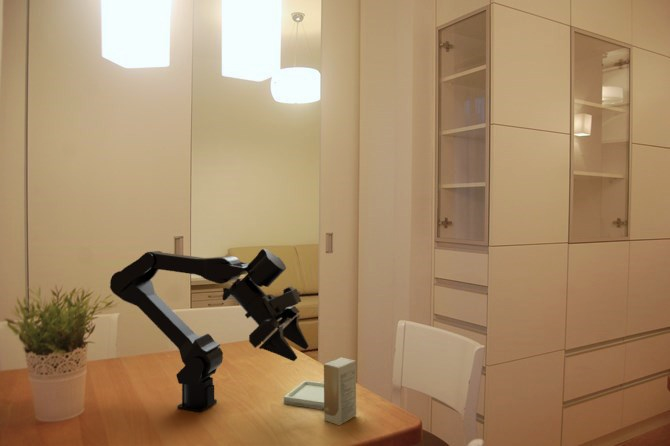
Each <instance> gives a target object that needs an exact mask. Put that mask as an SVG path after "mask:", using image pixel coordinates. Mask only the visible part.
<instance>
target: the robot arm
mask: <svg viewBox="0 0 670 446" xmlns="http://www.w3.org/2000/svg"><path fill="white" fill-rule="evenodd" d="M159 270H160V271H169V272H175V273H184V274H189V275H196V276H199V277H201V278H203V279H204V280H207V281H210V282H213V283H215V284H220V285H222V284H226V283H230V282H233V281H234V282H233V283H232V284H231V285H230V286H227V287H226V286H225V287H224V288H223V289H222V301H227V300H229V299H232V298H234V300H235V302H237V304H239V305H240V307H242V309H243V310H244V311H245V312H246V313H245V314H244V317H246V318H247V319H249V318H251V319H252V320H253V321H254V322H255V323H256V324H257V327H256V328H255V329H254V330H253V331H252V332H251V333H250V334H249V338H248V342H249V343H250V344H251V346H253V348H254V349H256V348H259V349H260V350H265V351H267V352H270V353H273V354H275V355H278V356H280V357H282V358H285V359H287V360H289V361H292V362H295V361H296V360H297V359H298V356H297V355H296V352H295V351H294V350H293V348H292V347H291V345H290V344H289V343H288V341H287V340H289V341H290V342H292V343H293V344H295V345H296V346H298V347H300V348H302V349H304V350H307V349H308V348H309V347H310V346H309V344H308V342H307V339H306V337H305V336H304V333H303V331H302V329H301V327H300V325H299V322H300V321H299V320H300V317H301V315H300V314H299V313H300V310H299V309H298V308H297V307H296V305H298V304H299V303H301V302H302V299H301V297H300V294H301V292H300V291H299V290H298V289H297V288H294V287H293V286H292V285H290V286H289V287H286V288H284V289H283V291H282V292H283V294H281V295H278V296H276V297H275V296H274V295H273V294H270V293H269V294H267V293H265V292H264V290H263V289H262V287H267V288H269V287H270V286H271V285H272V284H273V283H274V282H275V280H277V279H278V278H279V277H280V276H281V275H282V274H283V273H284V272H285V271H286V270H287V267H286V265H285V263H284V261H283V260H282V258H280V257H279V256H277V255H275V254H274V253H273V252H270V250H268V249H267V248H262V249H261V250H260V251H259V252H258V253H257V255H256V256H255V257H254V258H253V259H252V260H251V261H250V262H244V261H240V259H239V258H238V257H236V256H234V255H231V256H230V255H228V256H215V257H200V256H192V255H184V254H177V253H176V254H175V253H170V252H169V253H168V252H163V251H160V250H159V251H158V250H156V251H147V252H145V253H144V254H142V255H141V256H140V257H139V258H138V259H136V260H135V261H133V262H132V263H130V264H129V265H127V266H124V268H123V269H122V270H119V271H117V272H115V273H113V275H112V276H111V278H110V282H109V284H110V286H109V289H110V291H111V292H112V294H114V295H115V296H117V297H118V298H120V299H121V300H122V301H123V302H126V303H128V304H131V305H133V306H136V307H137V308H138V309H139V310H140V311H141V312H142V313H144V315H145V316H146V317H147V318H148V319H149V320H150V321H151V322H152V323H153V324H154V325H155V327H157V328H158V329H159V330H160V332H162V334H163V335H165V336H166V338H168V339H169V340H170V342H171V343H172V344H173V345H174V346H175V347H176V348H177V349H178V350H179V354H180V358H181V361H182V363H183V365H184V366H183V368H181V369H180V370H179V371H178V372H177V373H176V375H175V376H176V379H177V382H178V384H179V385H181V403H179V404H178V405H177V406H176V407H177V409H180V410H181V409H182V410H186V411H193V412H198V413H199V412H203V411H204V410H206V409H208V408H209V407H211V406H213V405H214V404H216V403H218V400H217V398H216V399H215V384H214V377H211V376H212V375H214V374H216V372H217V370H218V368H219V367H220V366H221V364H222V363H223V359H224V356H223V355H224V352H223V350H222V349H221V348H220V346H221V343H218V342H217V341H215V340H214V339H213V337H212V335H210V334H209V333H205V334H203V335H199V334H196V333H195V332H194V331H193V330H192V329H191V328H190V327H189V326H188V325H187V324H186V323H185V322H184V321H183V320H182V319H181V318H180V317H179V315H178V314H176V312H174V311H173V310H172V309H171V308H170V307H169V306H168V305H167V303H166V302H164V300H163V299H162V298H160V296H159V295H158V294H157V293H156V292H155V288H154V284H153V281H152V279H154V277H155V276H156V274H157V273H158V271H159ZM245 274H246V275H245ZM243 275H245V276H243ZM242 276H243V278H242V279H241V278H240V277H242ZM286 339H287V340H286Z"/></svg>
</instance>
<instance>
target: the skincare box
mask: <svg viewBox="0 0 670 446" xmlns="http://www.w3.org/2000/svg"><path fill="white" fill-rule="evenodd" d="M356 364H357V363H356V360H354V359H350V358H345V357H338V358H335V359H333V360H330V361H328V362H325V363H324V364H323V383H324V410H323V412H324V413H323V414H324V415H323V420H324V421H327V422H329V423H333V424H335V425H337V426H341V425H342V424H344V423H346V422H347V421H350V419H353V418H354V417H356V416H357V374H356V373H357V369H356V368H357V365H356Z"/></svg>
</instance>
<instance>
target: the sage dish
mask: <svg viewBox="0 0 670 446" xmlns="http://www.w3.org/2000/svg"><path fill="white" fill-rule="evenodd" d="M283 404H284V405H291V406H297V407H304V408H311V409H316V410H322V411H324V382H319V381H314V380H313V381H311V380H306V379H305V380H304V381H302V382H301V383H299V384H298V385H297V386H296V387H294V388H293V389H292V390H291V391H289V392H288V393H287V394H285V395H283Z"/></svg>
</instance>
